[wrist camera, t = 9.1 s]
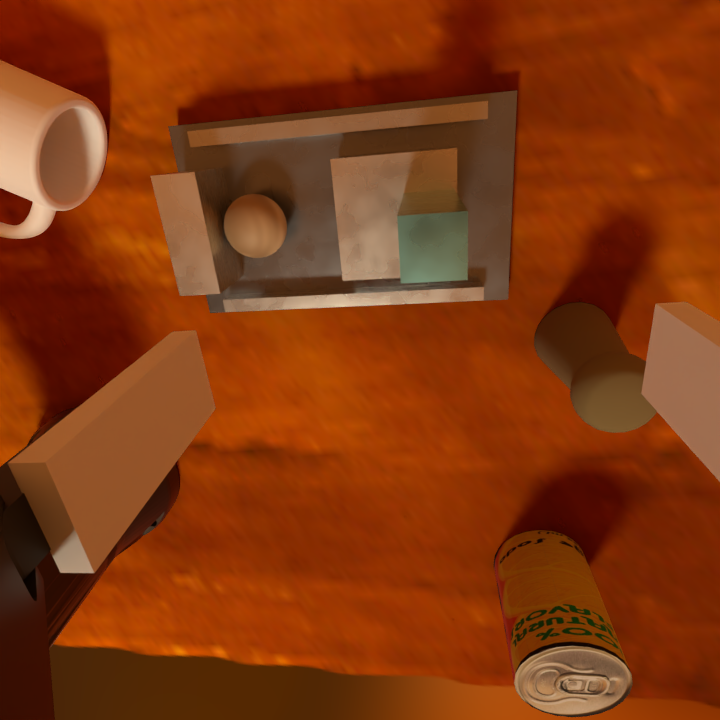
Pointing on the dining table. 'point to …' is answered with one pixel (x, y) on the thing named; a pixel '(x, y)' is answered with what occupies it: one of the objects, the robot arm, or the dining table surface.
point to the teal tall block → (401, 216)
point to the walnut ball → (255, 225)
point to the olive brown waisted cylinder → (594, 367)
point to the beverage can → (558, 627)
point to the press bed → (331, 200)
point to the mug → (47, 147)
